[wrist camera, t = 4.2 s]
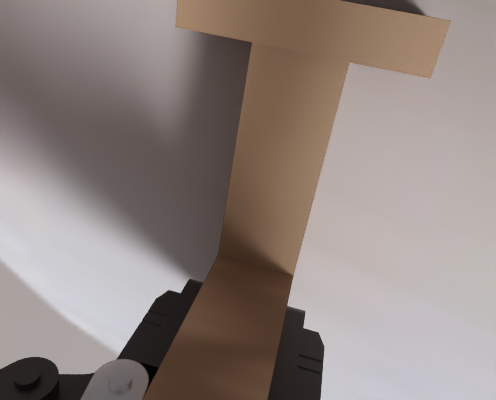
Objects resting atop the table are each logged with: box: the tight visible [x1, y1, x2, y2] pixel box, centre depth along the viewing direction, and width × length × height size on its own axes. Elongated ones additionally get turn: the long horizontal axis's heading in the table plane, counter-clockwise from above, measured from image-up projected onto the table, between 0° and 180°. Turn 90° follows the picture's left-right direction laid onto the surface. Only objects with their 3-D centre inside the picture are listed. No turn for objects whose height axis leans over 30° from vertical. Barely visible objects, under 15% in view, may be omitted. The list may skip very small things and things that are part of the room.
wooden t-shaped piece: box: [143, 0, 450, 400], centre depth 11 cm, size 6×12×9 cm, turn 171°
